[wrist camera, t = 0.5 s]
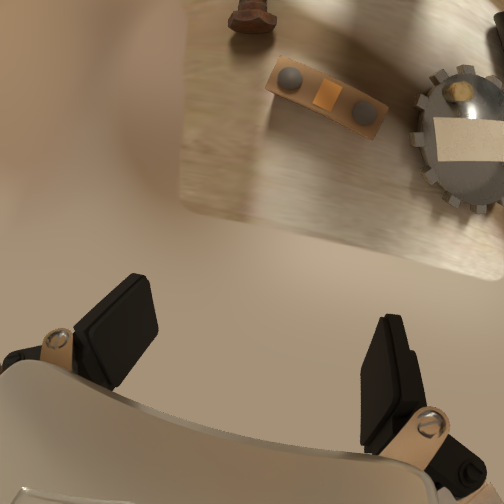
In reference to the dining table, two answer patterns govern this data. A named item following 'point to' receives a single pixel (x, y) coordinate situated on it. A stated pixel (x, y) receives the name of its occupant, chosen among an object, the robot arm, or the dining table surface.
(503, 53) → the dining table surface
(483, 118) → the sprocket
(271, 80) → the tan block with disc
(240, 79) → the dining table surface
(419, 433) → the robot arm
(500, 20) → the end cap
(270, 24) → the bolt
